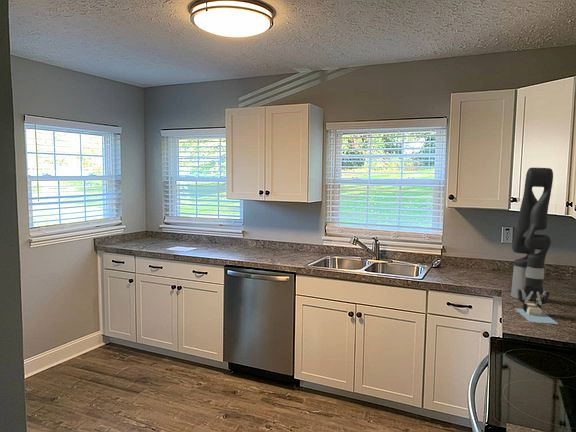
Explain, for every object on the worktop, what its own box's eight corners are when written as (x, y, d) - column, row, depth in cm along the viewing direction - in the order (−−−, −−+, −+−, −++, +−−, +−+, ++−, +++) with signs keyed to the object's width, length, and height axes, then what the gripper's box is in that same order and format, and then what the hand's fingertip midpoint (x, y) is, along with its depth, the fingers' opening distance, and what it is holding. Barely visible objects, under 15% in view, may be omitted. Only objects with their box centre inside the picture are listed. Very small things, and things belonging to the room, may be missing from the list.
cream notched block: (522, 309, 214) (522, 302, 214) (533, 310, 213) (533, 303, 213) (529, 314, 205) (529, 308, 205) (540, 315, 205) (541, 309, 204)
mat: (514, 309, 215) (514, 308, 215) (540, 311, 213) (540, 310, 213) (529, 322, 196) (529, 321, 196) (558, 324, 194) (558, 324, 194)
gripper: (547, 275, 210) (544, 310, 212) (515, 273, 213) (512, 308, 214) (554, 279, 203) (550, 315, 204) (521, 277, 205) (517, 312, 207)
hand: (531, 311), depth 209 cm, fingers closed on cream notched block, 5 cm apart
